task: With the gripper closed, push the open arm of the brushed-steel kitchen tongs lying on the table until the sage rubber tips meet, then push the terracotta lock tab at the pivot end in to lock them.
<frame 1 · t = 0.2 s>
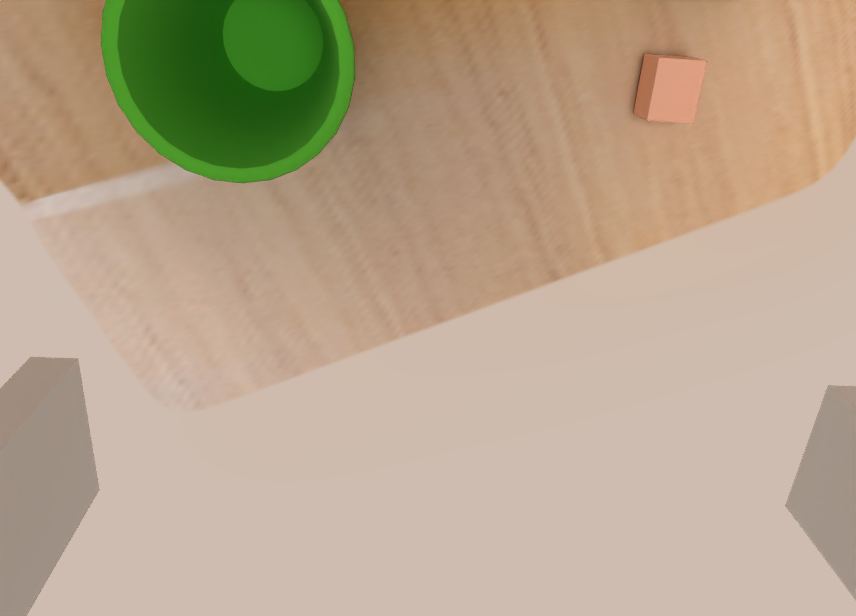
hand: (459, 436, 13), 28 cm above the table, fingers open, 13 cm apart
lock tab: (668, 88, 36), point 1 cm above the table, slide at 3.0 cm
cup: (276, 38, 35), on the table
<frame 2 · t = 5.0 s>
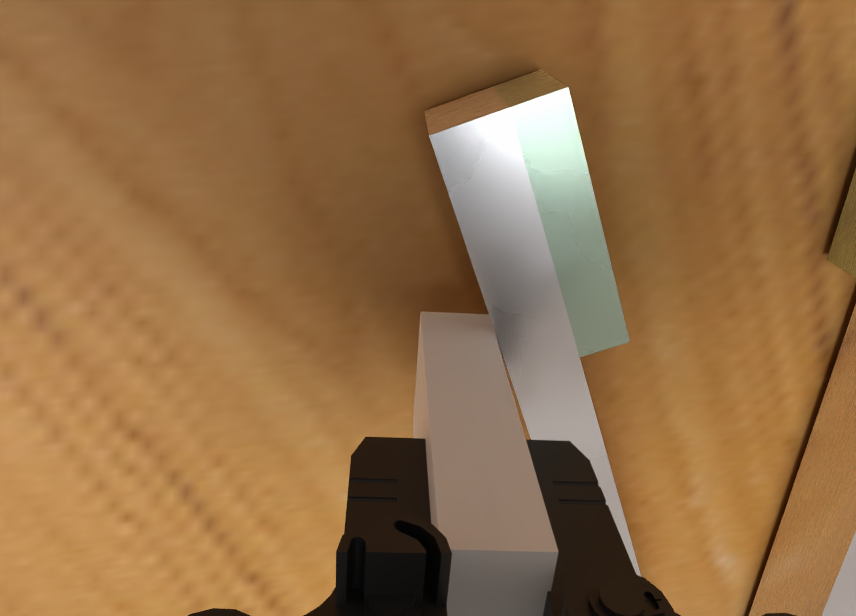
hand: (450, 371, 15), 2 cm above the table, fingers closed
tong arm: (594, 459, 16), point 1 cm above the table, hinge at 21.7°, touching gripper
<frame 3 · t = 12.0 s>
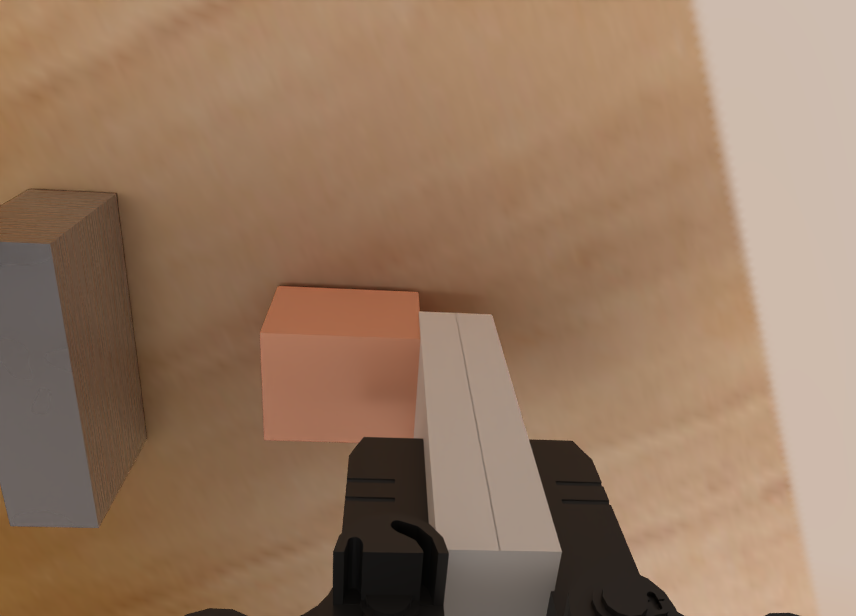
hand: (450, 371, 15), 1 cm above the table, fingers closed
lock tab: (344, 363, 15), point 1 cm above the table, slide at 2.9 cm, touching gripper
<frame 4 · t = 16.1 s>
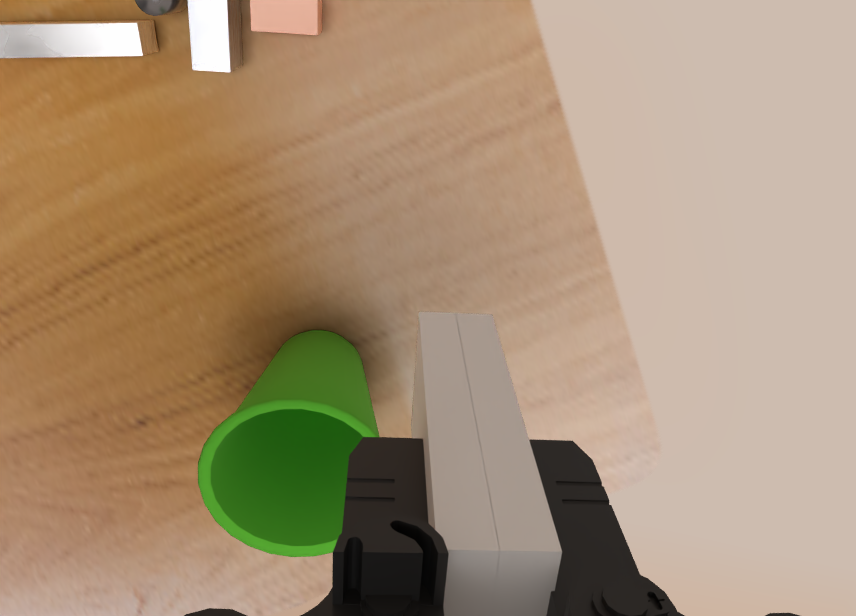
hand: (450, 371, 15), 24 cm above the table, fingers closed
lock tab: (287, 3, 33), point 1 cm above the table, slide at 0.6 cm
cup: (319, 364, 42), on the table
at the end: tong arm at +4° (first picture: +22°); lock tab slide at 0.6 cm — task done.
